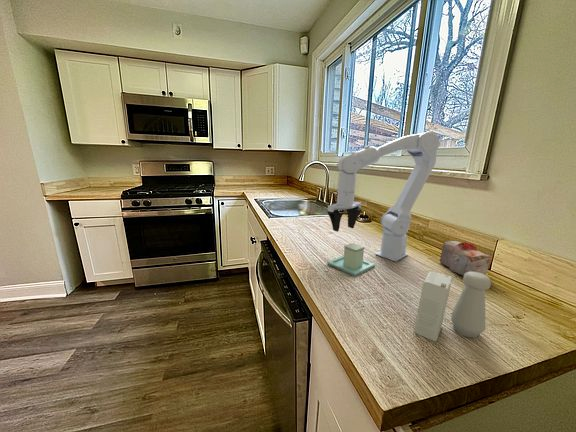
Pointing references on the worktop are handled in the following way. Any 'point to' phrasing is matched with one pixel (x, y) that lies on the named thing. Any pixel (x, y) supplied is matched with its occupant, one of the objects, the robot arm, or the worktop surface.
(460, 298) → the salt shaker
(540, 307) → the worktop surface
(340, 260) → the tray
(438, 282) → the skincare box
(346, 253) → the tea tin
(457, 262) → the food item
